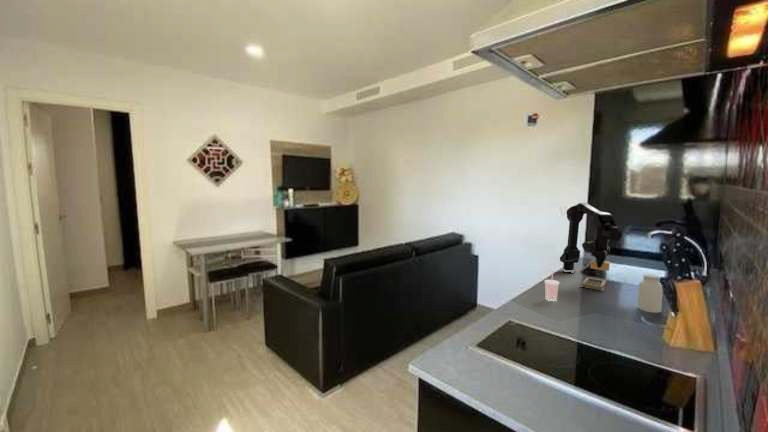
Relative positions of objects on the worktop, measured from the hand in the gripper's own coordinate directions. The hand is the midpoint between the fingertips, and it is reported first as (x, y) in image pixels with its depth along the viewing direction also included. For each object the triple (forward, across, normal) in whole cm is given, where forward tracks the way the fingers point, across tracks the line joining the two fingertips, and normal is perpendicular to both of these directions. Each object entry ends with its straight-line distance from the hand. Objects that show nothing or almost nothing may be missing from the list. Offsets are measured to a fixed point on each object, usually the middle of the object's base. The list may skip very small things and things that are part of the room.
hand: (599, 266), depth 171 cm
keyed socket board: (+11, +1, -2) cm, 11 cm away
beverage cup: (+10, +38, -14) cm, 42 cm away
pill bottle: (+10, +24, +21) cm, 34 cm away
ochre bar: (+1, 0, 0) cm, 1 cm away
